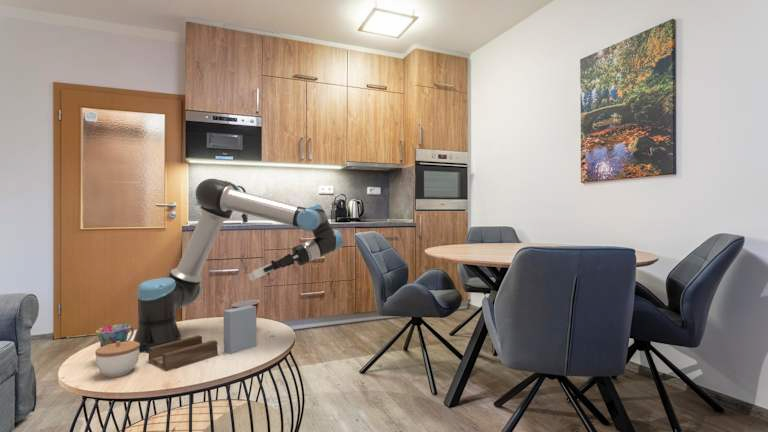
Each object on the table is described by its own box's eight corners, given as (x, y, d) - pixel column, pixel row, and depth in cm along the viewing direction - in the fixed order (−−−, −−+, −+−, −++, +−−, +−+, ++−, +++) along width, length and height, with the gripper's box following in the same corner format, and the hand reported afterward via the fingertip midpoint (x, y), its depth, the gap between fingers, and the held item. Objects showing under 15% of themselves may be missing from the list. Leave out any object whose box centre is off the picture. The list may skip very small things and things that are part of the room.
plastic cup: (236, 328, 157) (235, 299, 157) (262, 327, 158) (262, 298, 158) (227, 336, 146) (227, 305, 147) (256, 335, 147) (255, 304, 147)
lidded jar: (116, 365, 118) (116, 335, 118) (148, 366, 117) (148, 335, 117) (85, 380, 107) (85, 346, 107) (120, 381, 106) (120, 347, 106)
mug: (112, 367, 116) (112, 333, 116) (88, 365, 118) (87, 331, 118) (145, 354, 128) (144, 322, 128) (121, 352, 130) (121, 321, 130)
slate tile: (224, 351, 129) (223, 310, 129) (250, 344, 137) (249, 305, 137) (230, 354, 126) (230, 312, 127) (256, 346, 134) (256, 306, 135)
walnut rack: (148, 361, 121) (148, 347, 121) (198, 347, 133) (198, 335, 133) (166, 371, 113) (166, 355, 113) (217, 355, 126) (217, 341, 126)
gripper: (319, 257, 134) (261, 283, 123) (301, 265, 155) (251, 287, 145) (310, 238, 134) (252, 262, 123) (294, 248, 156) (243, 269, 145)
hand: (251, 276), depth 134 cm, fingers open, 13 cm apart
